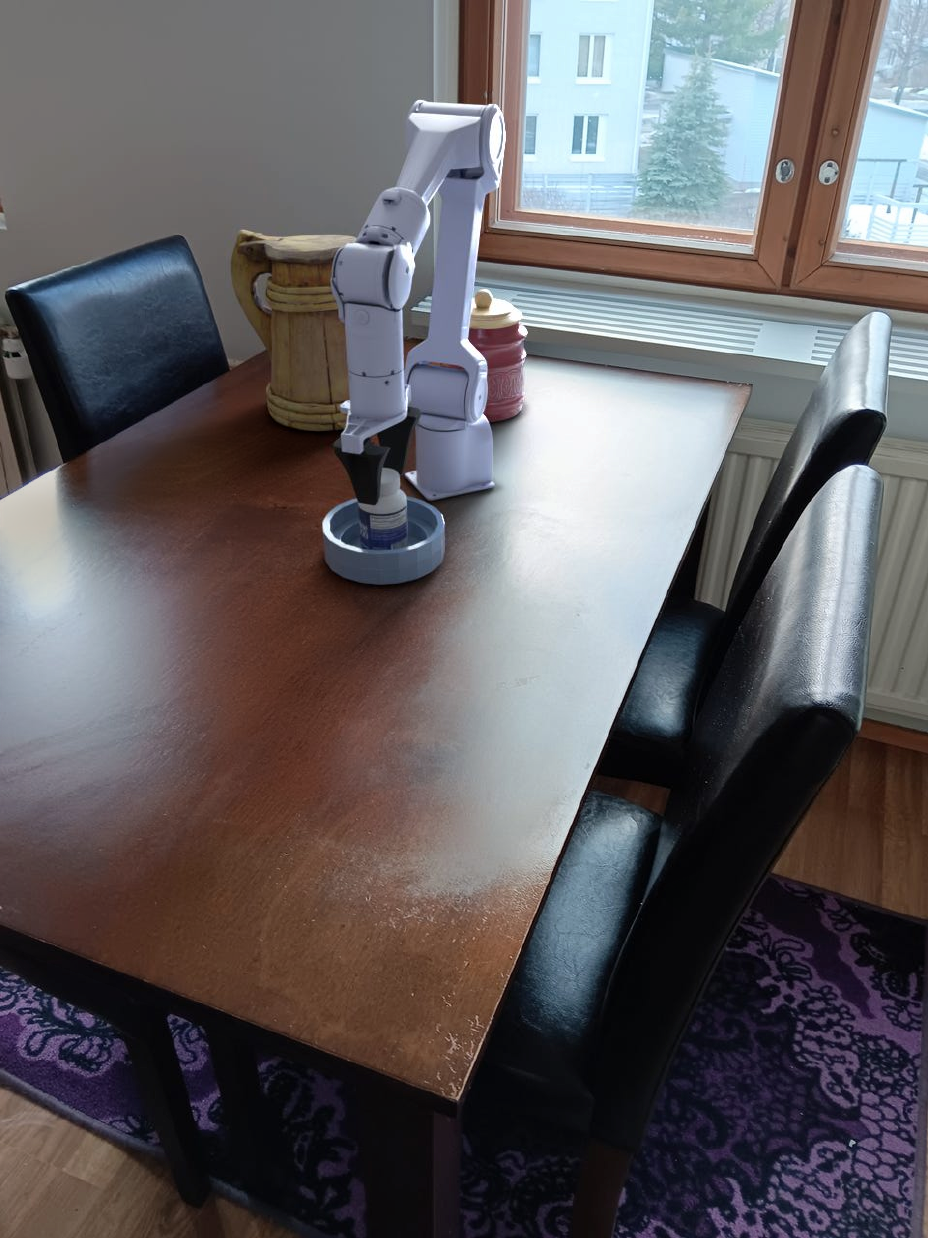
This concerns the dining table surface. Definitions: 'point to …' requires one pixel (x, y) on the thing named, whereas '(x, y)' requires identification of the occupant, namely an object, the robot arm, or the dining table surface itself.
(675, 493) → the dining table surface
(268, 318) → the tankard
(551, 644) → the dining table surface
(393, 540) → the pill bottle
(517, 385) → the kitchen canister
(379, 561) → the bowl
